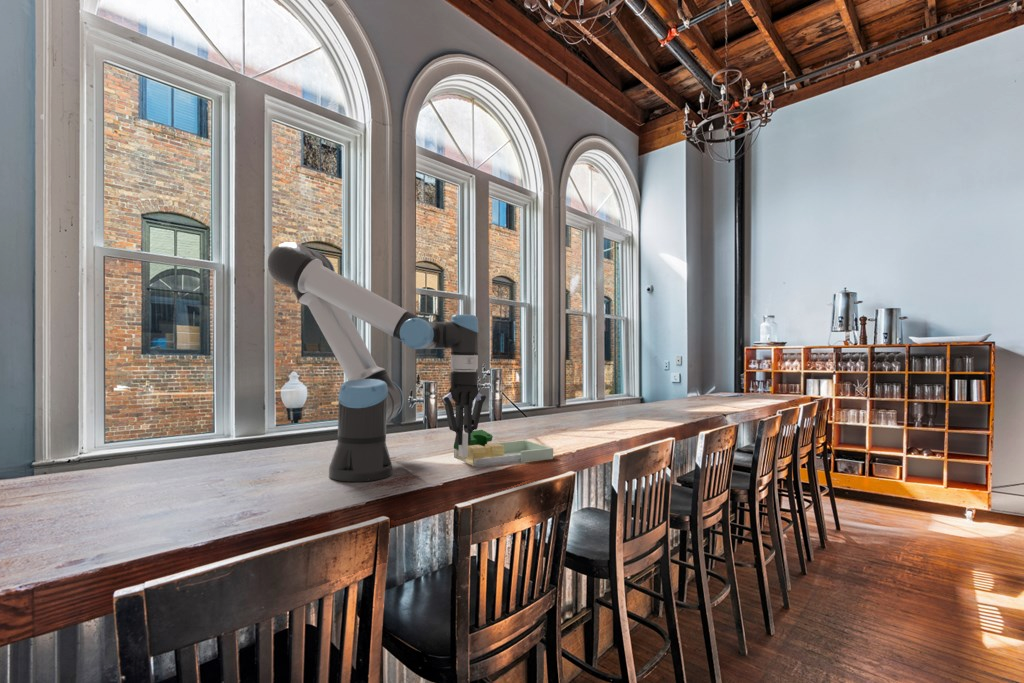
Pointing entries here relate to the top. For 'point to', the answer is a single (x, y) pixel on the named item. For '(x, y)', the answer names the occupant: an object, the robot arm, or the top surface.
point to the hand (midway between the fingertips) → (463, 456)
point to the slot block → (489, 460)
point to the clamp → (477, 438)
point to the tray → (527, 450)
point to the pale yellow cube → (494, 450)
